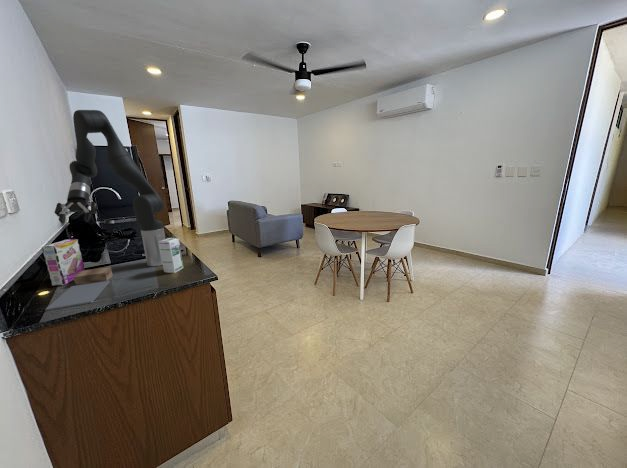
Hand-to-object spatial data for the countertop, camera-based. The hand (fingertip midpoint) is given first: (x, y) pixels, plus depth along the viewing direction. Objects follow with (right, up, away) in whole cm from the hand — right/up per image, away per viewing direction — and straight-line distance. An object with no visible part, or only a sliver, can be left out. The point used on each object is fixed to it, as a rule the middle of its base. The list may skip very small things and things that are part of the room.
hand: (74, 221), depth 114 cm
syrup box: (+45, -22, 0) cm, 50 cm away
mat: (+23, -28, -22) cm, 42 cm away
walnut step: (+18, -25, -10) cm, 32 cm away
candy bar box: (+6, -25, -8) cm, 27 cm away
